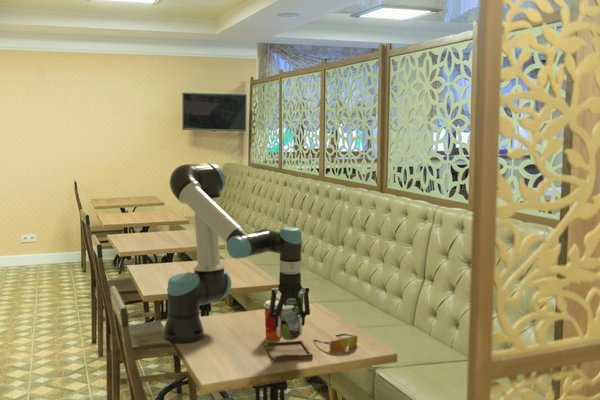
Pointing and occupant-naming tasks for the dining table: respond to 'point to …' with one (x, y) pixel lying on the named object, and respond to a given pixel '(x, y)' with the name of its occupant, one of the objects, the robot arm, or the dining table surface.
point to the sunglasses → (341, 342)
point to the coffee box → (294, 303)
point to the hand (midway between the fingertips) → (289, 334)
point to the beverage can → (289, 323)
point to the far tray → (288, 351)
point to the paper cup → (271, 323)
